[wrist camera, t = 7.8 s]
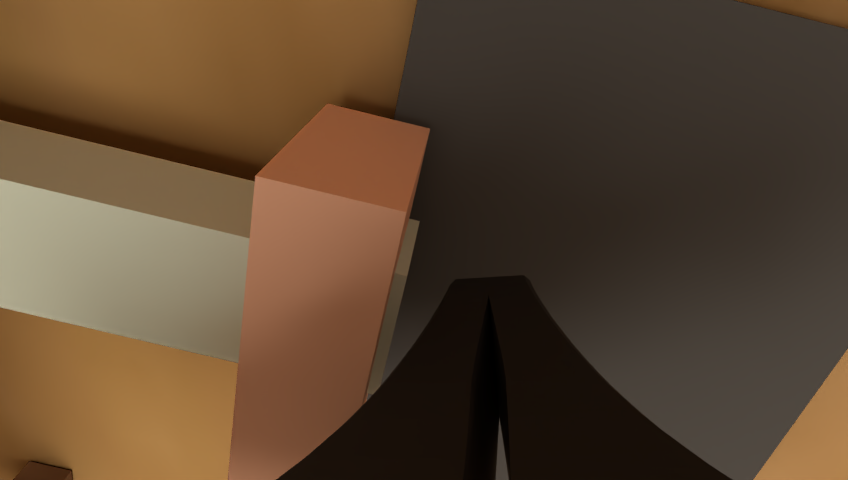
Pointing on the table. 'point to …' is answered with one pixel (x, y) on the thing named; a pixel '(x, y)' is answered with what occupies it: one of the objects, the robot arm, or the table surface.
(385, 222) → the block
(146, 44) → the table surface
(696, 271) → the pit
